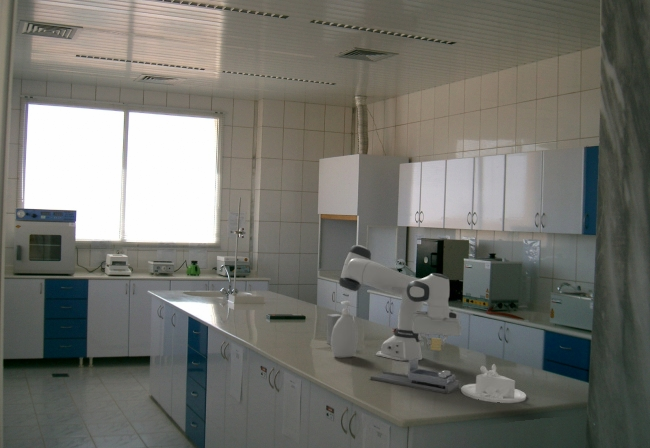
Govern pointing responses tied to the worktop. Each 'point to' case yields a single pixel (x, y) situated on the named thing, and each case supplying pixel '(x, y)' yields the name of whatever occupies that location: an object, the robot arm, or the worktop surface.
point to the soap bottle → (344, 335)
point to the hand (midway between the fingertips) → (435, 345)
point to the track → (404, 380)
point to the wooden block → (435, 344)
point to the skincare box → (331, 325)
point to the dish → (493, 388)
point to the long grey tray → (426, 375)
